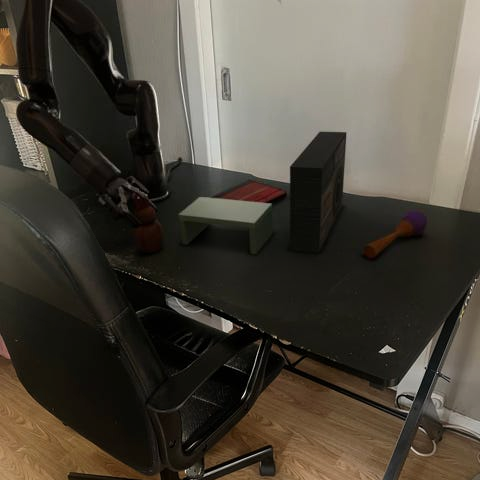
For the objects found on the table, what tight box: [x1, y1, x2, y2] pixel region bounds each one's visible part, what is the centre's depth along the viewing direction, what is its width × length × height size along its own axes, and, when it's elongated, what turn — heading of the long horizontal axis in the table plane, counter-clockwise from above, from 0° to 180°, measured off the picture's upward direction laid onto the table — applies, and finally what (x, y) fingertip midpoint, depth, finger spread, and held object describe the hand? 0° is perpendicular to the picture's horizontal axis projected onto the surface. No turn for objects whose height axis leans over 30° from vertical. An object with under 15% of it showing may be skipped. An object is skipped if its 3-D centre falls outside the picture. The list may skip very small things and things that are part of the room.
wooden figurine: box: [133, 194, 164, 254], centre depth 116 cm, size 7×6×15 cm
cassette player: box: [289, 131, 347, 254], centre depth 120 cm, size 29×7×20 cm, turn 160°
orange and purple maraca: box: [362, 209, 428, 260], centre depth 113 cm, size 6×6×20 cm
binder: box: [208, 179, 287, 205], centre depth 143 cm, size 16×2×21 cm
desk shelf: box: [177, 196, 274, 255], centre depth 121 cm, size 12×20×8 cm, turn 67°
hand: (147, 219), depth 115 cm, fingers open, 8 cm apart
